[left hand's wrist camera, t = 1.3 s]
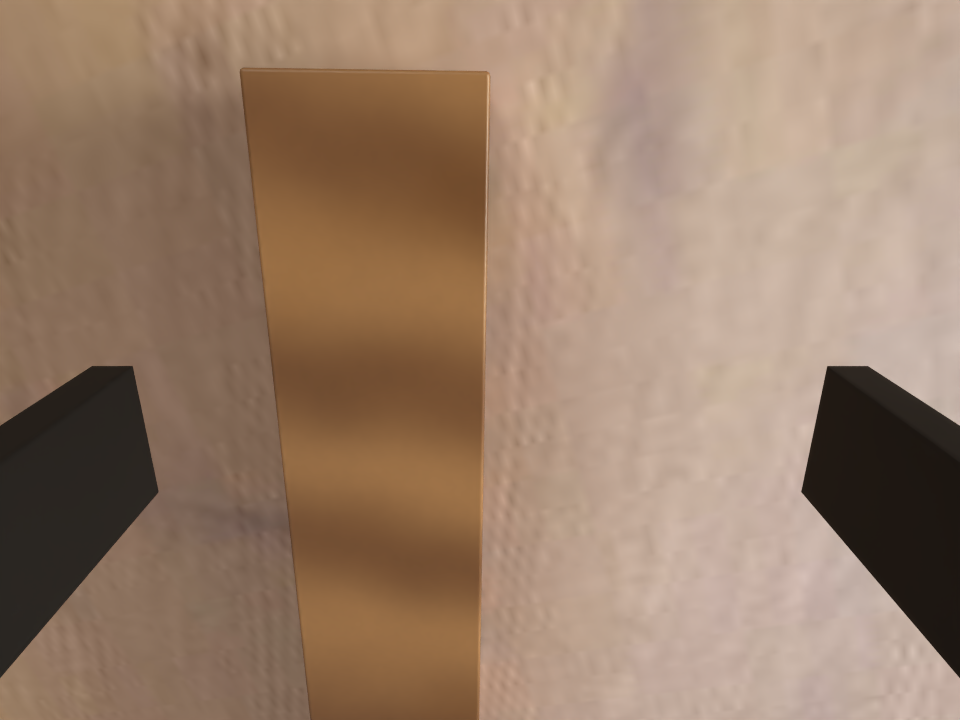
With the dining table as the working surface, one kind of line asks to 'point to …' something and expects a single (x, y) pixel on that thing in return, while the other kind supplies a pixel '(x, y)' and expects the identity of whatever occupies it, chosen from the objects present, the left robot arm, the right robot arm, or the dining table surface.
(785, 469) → the dining table surface
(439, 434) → the beam
